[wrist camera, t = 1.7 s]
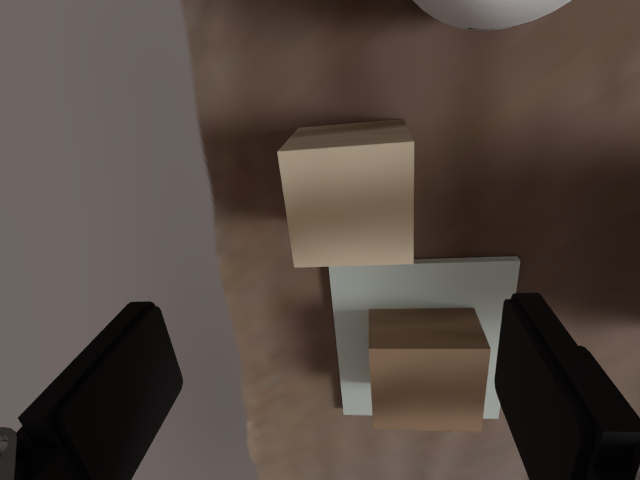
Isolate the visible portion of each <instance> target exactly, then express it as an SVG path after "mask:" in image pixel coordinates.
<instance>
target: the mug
mask: <svg viewBox="0 0 640 480" xmlns="http://www.w3.org/2000/svg"><path fill="white" fill-rule="evenodd" d="M413 1H414V2H415V3H416V4H417V5H418V6H419V7H420V8H421V9H422V10H423V11H424V12H426V13H427V14H429V15H430V16H432V17H433V18H435V19H437V20H439V21H441V22H443V23H446V24H448V25H450V26H453V27H457V28H462V29H466V30H482V31H490V30H498V29H506V28H510V27H513V26H517V25H520V24H523V23H527V22H530V21H533V20H536V19H538V18H540V17H543V16H545V15H547V14H549V13H551V12H554V11H555V10H557V9H559V8H560V7H562V6H563V5H565V4H567V3H568V2H570V1H571V0H413Z"/></svg>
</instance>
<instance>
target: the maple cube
mask: <svg viewBox="0 0 640 480" xmlns="http://www.w3.org/2000/svg"><path fill="white" fill-rule="evenodd" d="M277 154H278V160H279V167H280V174H281V181H282V188H283V194H284V201H285V208H286V215H287V222H288V228H289V235H290V242H291V249H292V255H293V262H294V268H295V267H330V266H365V265H400V264H414V140H413V138H412V136H411V134H410V131H409V129H408V127H407V125H406V123H405V121H404V119H396V120H384V121H372V122H360V123H348V124H336V125H324V126H312V127H300V128H298V129H297V130H296V131H295V132H294V133H293V135H292V136H291V137H290V138H289V139H288V140H287V141H286V142H285V143H284V145H283V146H282V147H281V148H280V149H279V150H278V151H277Z"/></svg>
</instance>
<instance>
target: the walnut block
mask: <svg viewBox="0 0 640 480" xmlns="http://www.w3.org/2000/svg"><path fill="white" fill-rule="evenodd" d="M490 352H491V348H490V346H489V343H488V341H487V338H486V336H485V333H484V331H483V328H482V326H481V323H480V321H479V318H478V316H477V313H476V311H475V308H417V309H369V365H370V382H371V399H372V417H373V429H395V430H427V431H458V432H481V430H482V421H483V413H484V404H485V395H486V387H487V378H488V369H489V361H490Z"/></svg>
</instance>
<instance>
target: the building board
mask: <svg viewBox="0 0 640 480" xmlns="http://www.w3.org/2000/svg"><path fill="white" fill-rule="evenodd" d="M519 268H520V259H519V258H518V257H517V256H506V257H474V258H442V259H414V264H400V265H365V266H330V267H329V276H330V286H331V295H332V305H333V315H334V324H335V334H336V344H337V353H338V363H339V373H340V383H341V392H342V402H343V412H344V415H372V399H371V382H370V365H369V309H417V308H475V311H476V313H477V316H478V318H479V321H480V323H481V326H482V328H483V331H484V333H485V336H486V338H487V341H488V343H489V346H490V348H491V352H490V361H489V369H488V378H487V387H486V395H485V404H484V413H483V418H486V419H498V417H499V410H500V402H499V399H498V397H497V394H496V390H495V384H494V378H495V370H496V361H497V353H498V344H499V336H500V327H501V319H502V311H503V303H504V300H505V299H511V296H512V294H514V293H516V289H517V282H518V275H519Z"/></svg>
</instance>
